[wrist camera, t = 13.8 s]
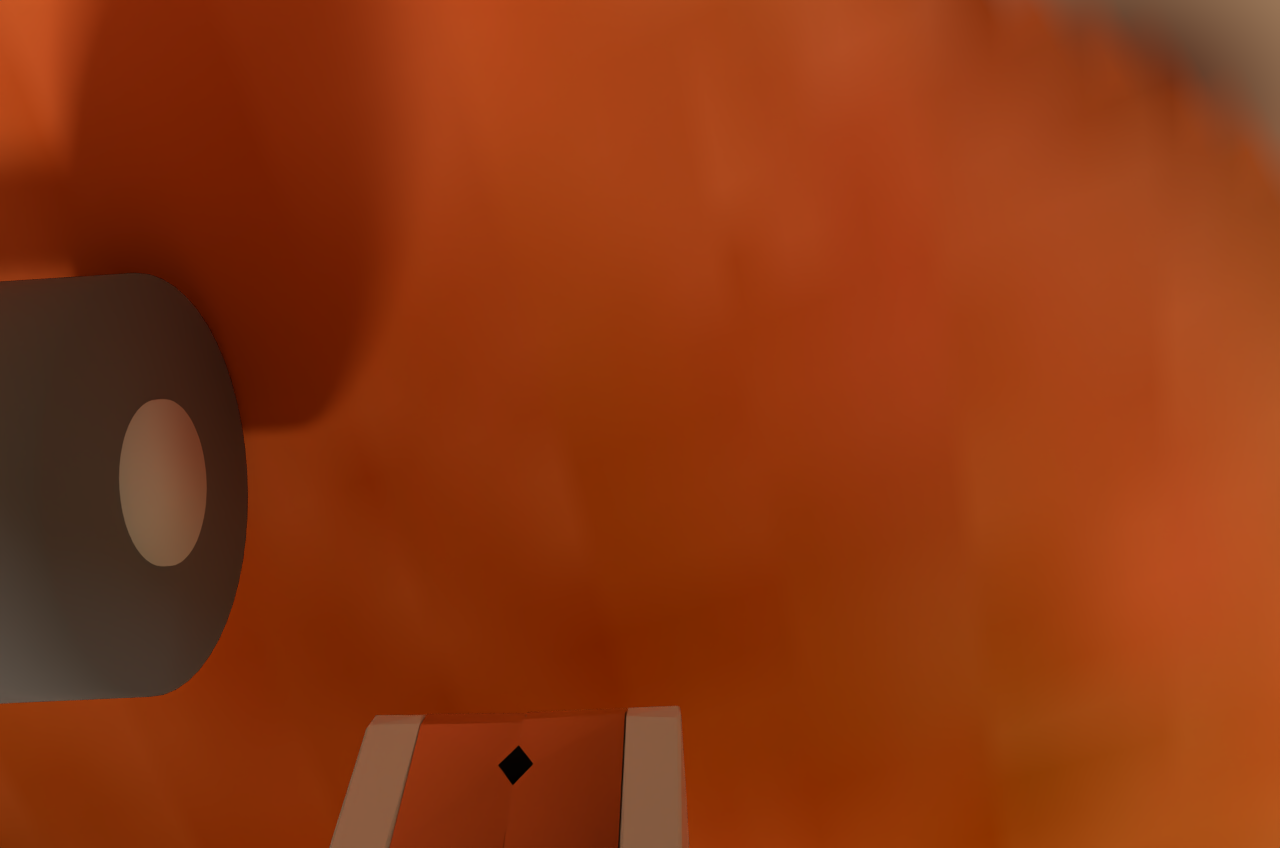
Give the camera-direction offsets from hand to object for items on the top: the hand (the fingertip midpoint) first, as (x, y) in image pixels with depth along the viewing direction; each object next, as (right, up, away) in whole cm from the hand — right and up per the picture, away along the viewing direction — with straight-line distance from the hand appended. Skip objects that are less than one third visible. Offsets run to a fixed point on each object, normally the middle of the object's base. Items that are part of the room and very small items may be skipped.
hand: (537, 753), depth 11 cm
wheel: (-9, +4, +8) cm, 12 cm away
